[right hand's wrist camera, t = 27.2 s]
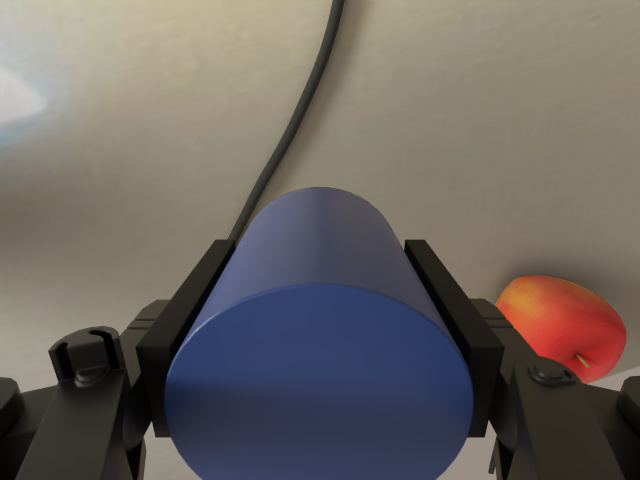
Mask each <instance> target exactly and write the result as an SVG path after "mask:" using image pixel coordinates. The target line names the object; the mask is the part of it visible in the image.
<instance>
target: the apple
mask: <svg viewBox="0 0 640 480" xmlns="http://www.w3.org/2000/svg"><path fill="white" fill-rule="evenodd" d="M494 306H496V307H498V309H499V310H500V311H501V312H502V313H503V314H504V316H505V317H506V320H509V321H510V323H511V324H512V325H513V326H514V328H516V330H517V331H518V332H519V333H520V334H521V335H522V337H523V338H524V339H525V340H526V341H527V342H528V344H529V345H530V346H531V347H532V348H533V349H534V351H535V352H536V353H537V354H538V355H539V356H543V357H546V358H550V359H553V360H555V361H557V362H559V363H561V364H563V365H565V366H567V367H568V368H569V369H571V370H572V371H573V372H574V373H576V375H577V376H578V377H579V379H580V380H581V382H582V383H584V384H586V383H589V382H592V381H594V380H597V379H599V378H601V377H603V376H604V375H606V374H607V373H608V372H609V371H611V370H612V368H613V367H614V366H615V365H616V363H617V362H618V360H619V359H620V357H621V355H622V352H623V349H624V346H625V343H626V329H625V326H624V324H623V322H622V320H621V318H620V317H619V315H618V314H617V313H616V312H615V310H614V309H613V308H612V307H611V306H610V305H609V304H608V303H607V302H606V301H605V300H604V299H602V298H601V297H600V296H598V295H597V294H595V293H594V292H592V291H591V290H589V289H587V288H585V287H583V286H581V285H578V284H576V283H573V282H570V281H567V280H564V279H560V278H556V277H551V276H545V275H526V276H521V277H518V278H516V279H514V280H513V281H512V282H511V283H509V284H508V286H507V287H506V288H505V289H504V290H503V292H502V293H501V295H500V296H499V298H498V300H497V302H496V303H495V305H494Z"/></svg>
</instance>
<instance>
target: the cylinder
mask: <svg viewBox="0 0 640 480" xmlns="http://www.w3.org/2000/svg"><path fill="white" fill-rule="evenodd" d="M164 412H165V418H166V424H167V427H168V430H169V433H170V436H171V439H172V441H173V443H174V445H175V447H176V448H177V450H178V452H179V454H180V455H181V456H182V458H183V459H184V461H185V462H186V463H187V465H188V466H189V467H190V468H191V469H192V470H193V471H194V472H195V473H196V474H197V475H198V476H199V477H200V478H201V479H202V480H436V479H437V478H438V477H439V476H440V475H441V474H442V473H444V472H445V471H446V469H447V468H448V467H449V466H450V465H451V463H452V462H453V461H454V460H455V458H456V457H457V455H458V454H459V452H460V450H461V449H462V447H463V445H464V443H465V441H466V438H467V436H468V434H469V431H470V427H471V423H472V419H473V412H474V392H473V383H472V380H471V376H470V372H469V369H468V366H467V364H466V362H465V360H464V358H463V356H462V354H461V352H460V350H459V348H458V347H457V345H456V343H455V341H454V339H453V338H452V336H451V334H450V332H449V330H448V329H447V327H446V325H445V323H444V322H443V320H442V318H441V316H440V314H439V313H438V311H437V309H436V307H435V305H434V304H433V302H432V300H431V298H430V296H429V295H428V293H427V291H426V289H425V288H424V286H423V284H422V282H421V280H420V279H419V277H418V275H417V273H416V271H415V270H414V268H413V266H412V264H411V262H410V261H409V259H408V257H407V255H406V253H405V252H404V250H403V248H402V246H401V245H400V243H399V241H398V239H397V237H396V236H395V234H394V232H393V230H392V228H391V227H390V225H389V223H388V222H387V221H386V219H385V218H384V216H383V215H382V214H381V213H380V212H379V211H378V210H377V209H376V208H375V207H374V206H373V205H371V204H370V203H369V202H367V201H366V200H364V199H362V198H361V197H359V196H357V195H355V194H352V193H350V192H347V191H344V190H340V189H336V188H329V187H311V188H303V189H299V190H295V191H292V192H289V193H287V194H284V195H282V196H280V197H278V198H276V199H275V200H273V201H272V202H270V203H269V204H268V205H266V206H265V207H264V208H263V209H262V210H261V211H260V212H259V213H258V214H257V215H256V217H255V218H254V219H253V220H252V222H251V224H250V225H249V227H248V229H247V230H246V232H245V234H244V236H243V237H242V239H241V241H240V243H239V245H238V246H237V248H236V250H235V252H234V253H233V255H232V257H231V259H230V260H229V262H228V264H227V266H226V267H225V269H224V271H223V273H222V275H221V276H220V278H219V280H218V282H217V283H216V285H215V287H214V289H213V290H212V292H211V294H210V296H209V297H208V299H207V301H206V303H205V305H204V306H203V308H202V310H201V312H200V313H199V315H198V317H197V319H196V320H195V322H194V324H193V326H192V327H191V329H190V331H189V333H188V335H187V336H186V338H185V340H184V342H183V343H182V345H181V347H180V349H179V350H178V352H177V354H176V356H175V357H174V359H173V361H172V364H171V367H170V369H169V372H168V375H167V379H166V384H165V389H164Z"/></svg>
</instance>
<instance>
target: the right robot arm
mask: <svg viewBox="0 0 640 480" xmlns="http://www.w3.org/2000/svg"><path fill="white" fill-rule="evenodd" d="M344 1H345V0H333V3H332V7H331V12H330V16H329V20H328V24H327V28H326V32H325V35H324V39H323V42H322V45H321V48H320V51H319V54H318V57H317V60H316V62H315V65H314V67H313V70H312V72H311V75H310V77H309V80H308V82H307V84H306V87H305V89H304V91H303V93H302V96H301V98H300V100H299V102H298V105H297V107H296V109H295V112H294V114H293V116H292V118H291V120H290V122H289V125H288V127H287V129H286V131H285V133H284V135H283V136H282V138H281V140H280V142H279V144H278V146H277V147H276V149H275V151H274V153H273V154H272V156H271V158H270V160H269V161H268V163H267V165H266V167H265V168H264V170H263V172H262V174H261V175H260V177H259V179H258V181H257V182H256V184H255V186H254V188H253V190H252V192H251V194H250V196H249V198H248V200H247V202H246V204H245V206H244V208H243V210H242V212H241V214H240V216H239V218H238V220H237V222H236V224H235V226H234V228H233V230H232V232H231V234H230V236H229V238H228V240H215V241H214V243H213V244H212V245H211V247H210V248H209V249H208V251H207V252H206V253H205V255H204V256H203V257H202V259H201V260H200V261H199V263H198V264H197V265H196V267H195V268H194V269H193V271H192V272H191V273H190V275H189V276H188V277H187V279H186V280H185V281H184V283H183V284H182V285H181V287H180V288H179V289H178V291H177V292H176V293H175V295H174V296H173V297H172V299H171V300H156V301H154V302H153V303H151V304H150V305H148V306H146V307H145V308H143V309H142V310H141V312H140V313H139V314H138V315H137V316H136V317H135V319H134V321H132V322H131V323H130V324H129V326H128V327H127V330H124V332H123V333H122V334H121V335H120V336H119V334H118V332H117V331H116V330H115V329H113V328H111V327H105V326H100V327H90V328H86V329H82V330H78V331H76V332H74V333H71V334H69V335H67V336H65V337H63V338H62V339H60V340H59V341H57V342H56V343H55V344H54V345H53V346H52V347H51V348H50V349H49V350H48V352H49V355H50V358H51V361H52V364H53V367H54V370H55V373H56V376H57V379H58V384H57V385H55V386H51V387H47V388H42V389H37V390H33V391H28V392H24V393H21V392H20V389H19V387H18V384H17V382H16V381H14V380H13V379H11V378H3V377H0V480H143V477H144V467H145V458H146V446H145V441H144V437H143V436H144V435H145V433H146V431H147V429H148V427H149V425H150V423H151V421H152V423H153V428H154V432H155V437H171V436H170V433H169V430H168V427H167V424H166V418H165V412H164V389H165V384H166V379H167V375H168V372H169V369H170V367H171V364H172V361H173V359H174V357H175V356H176V354H177V352H178V350H179V349H180V347H181V345H182V343H183V342H184V340H185V338H186V336H187V335H188V333H189V331H190V329H191V327H192V326H193V324H194V322H195V320H196V319H197V317H198V315H199V313H200V312H201V310H202V308H203V306H204V305H205V303H206V301H207V299H208V297H209V296H210V294H211V292H212V290H213V289H214V287H215V285H216V283H217V282H218V280H219V278H220V276H221V275H222V273H223V271H224V269H225V267H226V266H227V264H228V262H229V260H230V259H231V257H232V255H233V253H234V252H235V250H236V242H237V240H238V238H239V236H240V234H241V233H242V231H243V229H244V227H245V225H246V223H247V221H248V219H249V217H250V215H251V213H252V211H253V209H254V207H255V205H256V203H257V201H258V199H259V197H260V196H261V194H262V192H263V190H264V188H265V186H266V185H267V183H268V181H269V179H270V178H271V176H272V174H273V172H274V171H275V169H276V167H277V166H278V164H279V162H280V161H281V159H282V157H283V156H284V154H285V152H286V150H287V149H288V147H289V145H290V143H291V141H292V139H293V137H294V136H295V134H296V132H297V130H298V127H299V125H300V123H301V121H302V119H303V117H304V115H305V112H306V110H307V108H308V106H309V104H310V101H311V99H312V97H313V95H314V92H315V90H316V88H317V86H318V83H319V81H320V79H321V76H322V74H323V71H324V69H325V66H326V64H327V61H328V58H329V56H330V53H331V50H332V47H333V44H334V40H335V37H336V34H337V30H338V26H339V22H340V18H341V14H342V10H343V5H344ZM404 252H405V253H406V255H407V257H408V259H409V261H410V262H411V264H412V266H413V268H414V270H415V271H416V273H417V275H418V277H419V279H420V280H421V282H422V284H423V286H424V288H425V289H426V291H427V293H428V295H429V296H430V298H431V300H432V302H433V304H434V305H435V307H436V309H437V311H438V313H439V314H440V316H441V318H442V320H443V322H444V323H445V325H446V327H447V329H448V330H449V332H450V334H451V336H452V338H453V339H454V341H455V343H456V345H457V347H458V348H459V350H460V352H461V354H462V356H463V358H464V360H465V362H466V364H467V366H468V369H469V372H470V376H471V380H472V383H473V392H474V412H473V419H472V423H471V427H470V431H469V434H468V436H467V437H485V433H486V429H487V425H488V420H489V421H490V423H491V425H492V426H493V428H494V430H495V432H496V434H497V437H496V441H495V445H494V449H493V453H492V457H491V461H490V465H489V472H488V473H490V474H493V473H494V470H495V466H496V475H497V480H640V376H631V377H629V378H627V379H626V380H625V381H624V383H623V385H622V388H621V390H620V392H619V391H615V390H610V389H605V388H600V387H596V386H591V385H587V384H584V383H582V382H581V380H580V379H579V377H578V376H577V375H576V373H574V372H573V371H572V370H571V369H569V368H568V367H567V366H565V365H563V364H561V363H559V362H557V361H555V360H553V359H550V358H546V357H543V356H539V355H538V354H537V353H536V352H535V351H534V349H533V348H532V347H531V346H530V345H529V344H528V342H527V341H526V340H525V339H524V338H523V337H522V335H521V334H520V333H519V332H518V331H517V330H516V328H514V326H513V325H512V324H511V323H510V321H509V320H506V317H505V316H504V314H503V313H502V312H501V311H500V310H499V309H498V307H496V306H494V305H493V304H491V303H490V302H488V301H486V300H485V299H469V298H468V297H467V296H466V294H465V293H464V292H463V290H462V289H461V288H460V286H459V285H458V284H457V282H456V281H455V280H454V278H453V277H452V276H451V274H450V273H449V272H448V270H447V269H446V268H445V266H444V265H443V264H442V262H441V261H440V260H439V258H438V257H437V256H436V254H435V253H434V252H433V250H432V249H431V248H430V246H429V245H428V244H427V242H426V241H425V240H405V248H404Z"/></svg>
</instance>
